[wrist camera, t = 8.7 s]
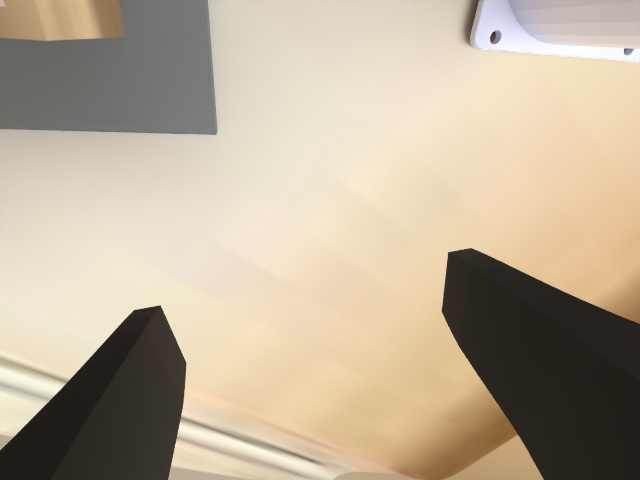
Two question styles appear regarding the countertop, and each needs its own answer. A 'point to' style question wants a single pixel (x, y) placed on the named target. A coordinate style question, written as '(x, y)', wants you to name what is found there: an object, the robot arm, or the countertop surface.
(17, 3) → the oak block
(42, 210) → the countertop surface
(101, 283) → the countertop surface
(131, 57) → the mat
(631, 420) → the robot arm
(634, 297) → the countertop surface
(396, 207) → the countertop surface
